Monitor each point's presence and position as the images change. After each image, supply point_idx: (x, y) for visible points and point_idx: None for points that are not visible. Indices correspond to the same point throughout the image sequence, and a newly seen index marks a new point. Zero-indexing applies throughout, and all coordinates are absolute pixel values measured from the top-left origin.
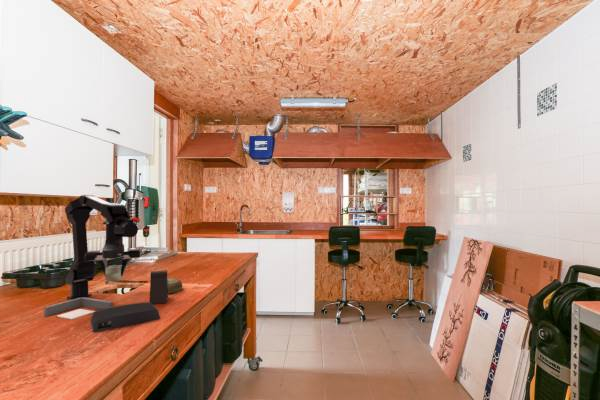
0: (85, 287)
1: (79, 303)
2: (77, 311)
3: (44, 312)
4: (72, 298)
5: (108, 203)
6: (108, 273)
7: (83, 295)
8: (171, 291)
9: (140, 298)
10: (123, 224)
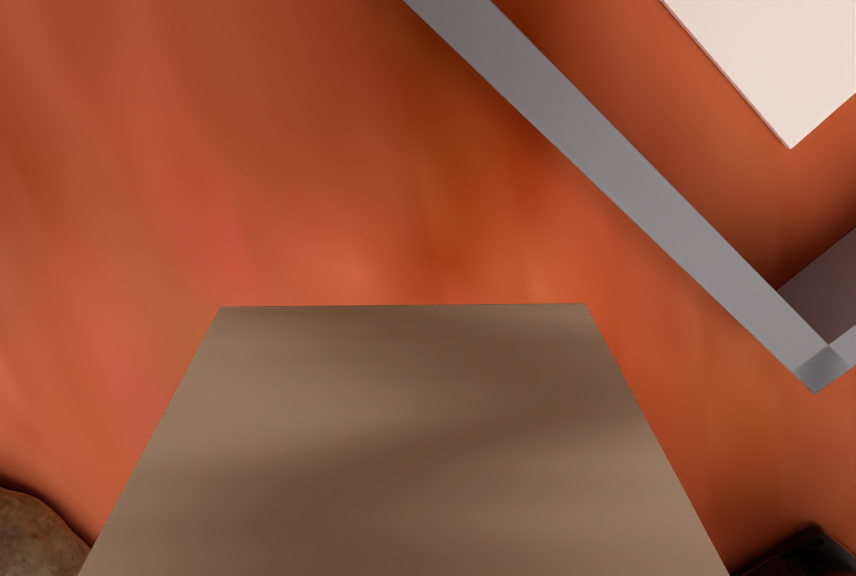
0: None
1: (810, 298)
2: (820, 27)
3: None
4: (851, 552)
5: None
6: (559, 459)
7: (769, 570)
8: None
9: (154, 387)
10: None
